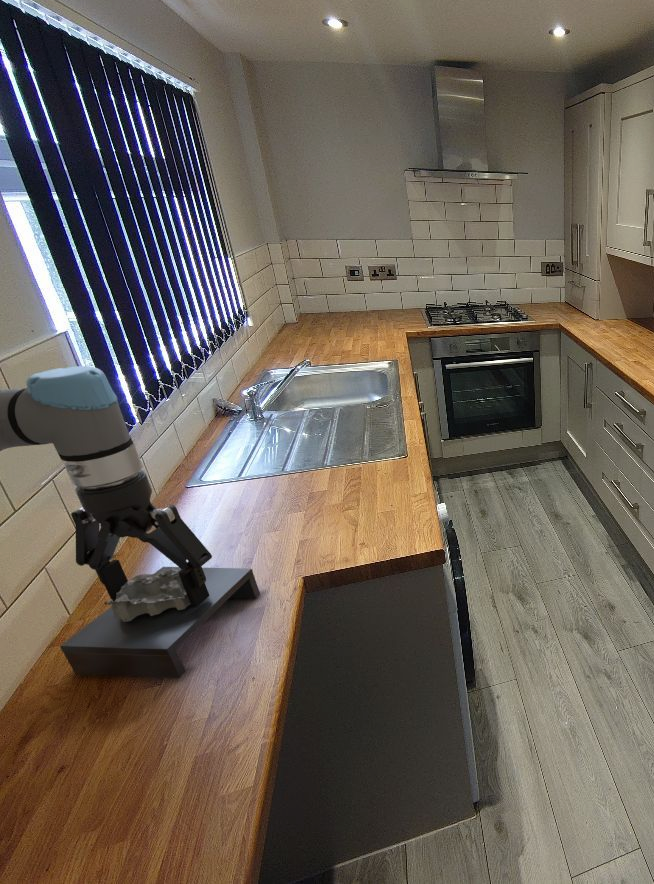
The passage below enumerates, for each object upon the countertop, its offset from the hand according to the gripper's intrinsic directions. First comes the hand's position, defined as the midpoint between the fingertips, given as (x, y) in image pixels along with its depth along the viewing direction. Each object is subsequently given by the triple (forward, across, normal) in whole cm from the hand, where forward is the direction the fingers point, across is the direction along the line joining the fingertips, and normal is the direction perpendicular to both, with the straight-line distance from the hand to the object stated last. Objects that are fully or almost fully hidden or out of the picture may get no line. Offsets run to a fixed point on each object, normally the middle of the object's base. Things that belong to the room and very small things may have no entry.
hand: (162, 600), depth 82 cm
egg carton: (0, 0, 0) cm, 0 cm away
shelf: (+6, 0, 0) cm, 6 cm away
